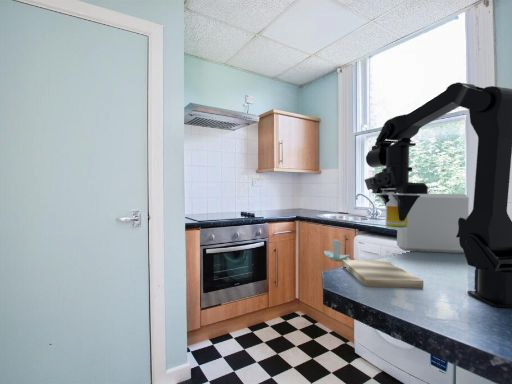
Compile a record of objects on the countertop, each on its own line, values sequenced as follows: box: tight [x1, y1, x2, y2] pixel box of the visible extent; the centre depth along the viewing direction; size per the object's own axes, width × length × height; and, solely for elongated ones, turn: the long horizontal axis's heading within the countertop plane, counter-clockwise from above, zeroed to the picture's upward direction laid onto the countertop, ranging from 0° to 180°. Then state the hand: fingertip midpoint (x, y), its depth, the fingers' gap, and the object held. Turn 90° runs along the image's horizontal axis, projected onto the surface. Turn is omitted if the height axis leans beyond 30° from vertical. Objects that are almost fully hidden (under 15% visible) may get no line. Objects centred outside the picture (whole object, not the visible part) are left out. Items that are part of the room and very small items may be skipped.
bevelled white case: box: [396, 193, 470, 254], centre depth 93 cm, size 21×8×20 cm, turn 82°
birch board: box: [341, 259, 424, 289], centre depth 63 cm, size 16×12×2 cm
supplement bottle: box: [385, 193, 407, 231], centre depth 74 cm, size 5×5×10 cm
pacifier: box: [323, 239, 351, 263], centre depth 77 cm, size 7×6×6 cm
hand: (396, 219), depth 74 cm, fingers closed on supplement bottle, 5 cm apart
